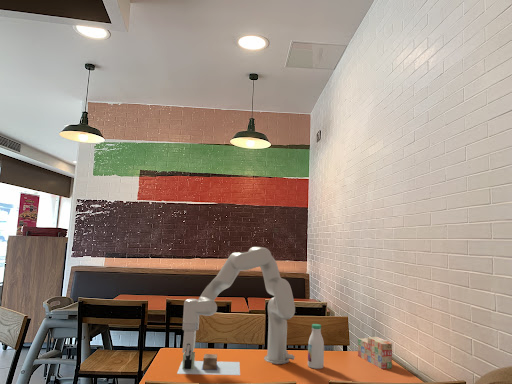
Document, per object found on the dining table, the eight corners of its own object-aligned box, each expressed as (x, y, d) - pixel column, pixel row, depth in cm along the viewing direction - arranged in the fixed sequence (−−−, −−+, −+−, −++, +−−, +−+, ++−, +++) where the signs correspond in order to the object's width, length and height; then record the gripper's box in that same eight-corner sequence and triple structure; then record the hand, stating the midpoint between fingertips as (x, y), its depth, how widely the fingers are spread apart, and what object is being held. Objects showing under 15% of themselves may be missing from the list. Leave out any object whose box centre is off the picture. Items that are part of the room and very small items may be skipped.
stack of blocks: (357, 356, 212) (357, 332, 213) (367, 355, 214) (367, 332, 215) (381, 369, 192) (381, 343, 193) (392, 368, 193) (392, 342, 195)
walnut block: (216, 365, 185) (217, 354, 185) (216, 369, 179) (216, 358, 179) (204, 365, 184) (204, 354, 185) (202, 369, 178) (203, 358, 179)
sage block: (194, 365, 184) (195, 352, 184) (193, 368, 179) (193, 355, 179) (183, 365, 183) (184, 351, 184) (182, 368, 178) (183, 355, 179)
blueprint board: (239, 363, 191) (239, 361, 191) (240, 376, 173) (240, 374, 173) (182, 361, 190) (182, 360, 190) (176, 375, 172) (176, 373, 172)
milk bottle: (325, 365, 193) (326, 324, 195) (321, 370, 186) (322, 327, 188) (310, 363, 196) (311, 322, 198) (305, 367, 189) (306, 325, 191)
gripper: (184, 321, 191) (182, 360, 189) (180, 330, 174) (177, 372, 172) (200, 322, 192) (198, 360, 190) (197, 330, 175) (194, 373, 173)
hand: (188, 365), depth 181 cm, fingers closed on sage block, 4 cm apart
